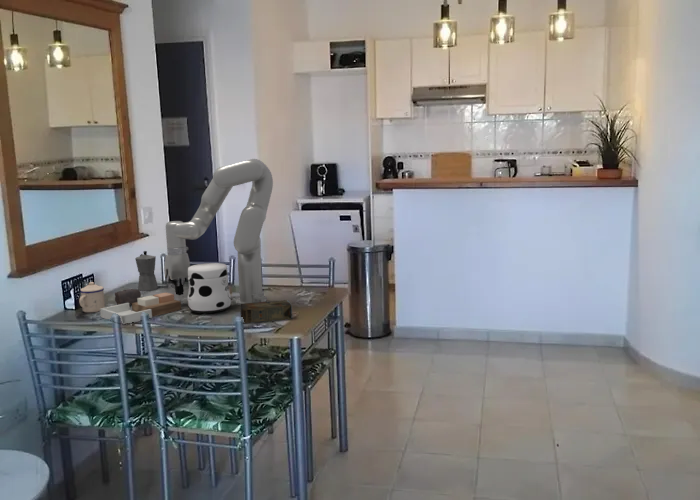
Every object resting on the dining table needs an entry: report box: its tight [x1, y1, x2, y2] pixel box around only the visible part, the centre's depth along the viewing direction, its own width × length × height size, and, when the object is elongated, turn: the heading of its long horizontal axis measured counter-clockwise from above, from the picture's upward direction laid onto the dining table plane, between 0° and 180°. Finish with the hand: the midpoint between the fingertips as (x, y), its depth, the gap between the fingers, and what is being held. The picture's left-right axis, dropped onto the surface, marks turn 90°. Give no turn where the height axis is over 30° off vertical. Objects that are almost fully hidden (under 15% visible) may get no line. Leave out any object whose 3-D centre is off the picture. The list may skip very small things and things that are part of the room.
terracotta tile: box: [152, 292, 175, 303], centre depth 268 cm, size 6×6×2 cm
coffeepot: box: [135, 250, 159, 292], centre depth 308 cm, size 15×9×18 cm, turn 32°
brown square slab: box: [131, 299, 182, 318], centre depth 266 cm, size 14×14×4 cm
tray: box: [99, 303, 153, 324], centre depth 257 cm, size 18×12×4 cm, turn 47°
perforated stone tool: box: [114, 288, 142, 306], centre depth 278 cm, size 15×5×7 cm, turn 156°
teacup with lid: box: [78, 281, 106, 313], centre depth 268 cm, size 12×9×12 cm
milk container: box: [186, 262, 232, 314], centre depth 264 cm, size 17×17×18 cm
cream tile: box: [137, 295, 159, 307], centre depth 263 cm, size 6×6×2 cm
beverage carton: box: [239, 299, 293, 324], centre depth 249 cm, size 8×19×7 cm, turn 104°
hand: (179, 294), depth 274 cm, fingers closed
